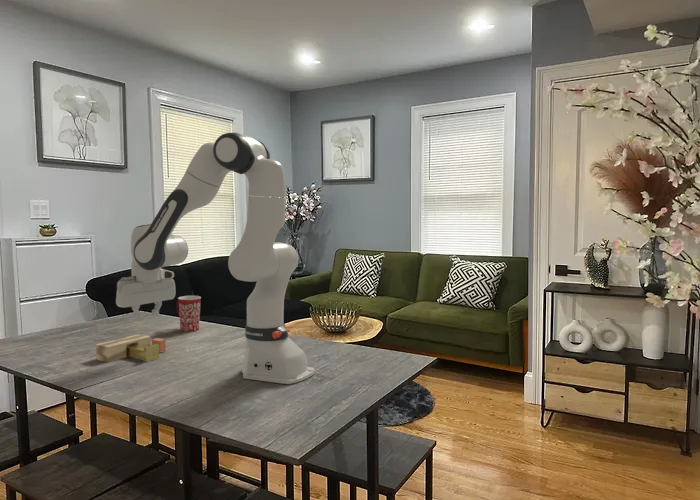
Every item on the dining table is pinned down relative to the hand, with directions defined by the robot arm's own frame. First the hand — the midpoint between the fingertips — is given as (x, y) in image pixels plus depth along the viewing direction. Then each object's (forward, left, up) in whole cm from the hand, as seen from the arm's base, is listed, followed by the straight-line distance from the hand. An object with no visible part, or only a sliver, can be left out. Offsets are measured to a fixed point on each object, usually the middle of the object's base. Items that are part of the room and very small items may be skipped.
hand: (147, 316), depth 159 cm
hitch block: (+11, +1, -14) cm, 18 cm away
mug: (+22, -36, -14) cm, 45 cm away
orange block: (+5, -8, -14) cm, 17 cm away
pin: (+6, 0, -14) cm, 15 cm away
